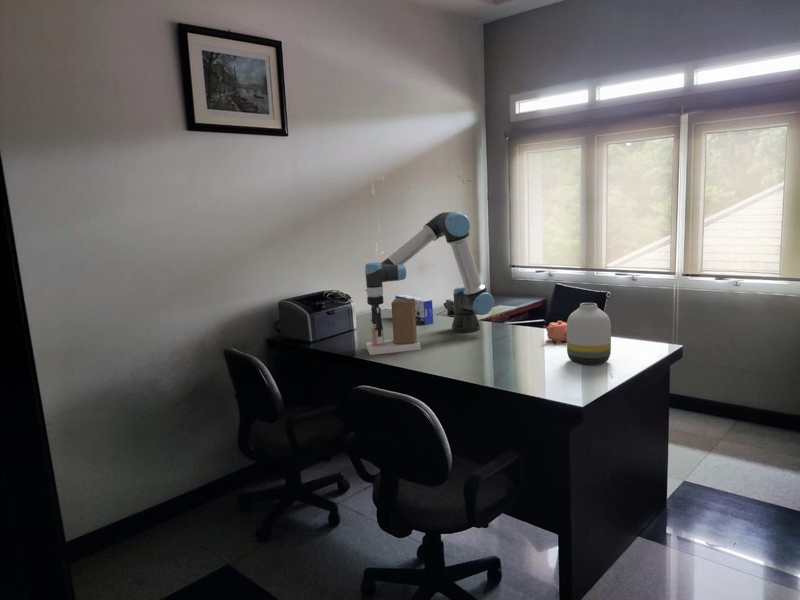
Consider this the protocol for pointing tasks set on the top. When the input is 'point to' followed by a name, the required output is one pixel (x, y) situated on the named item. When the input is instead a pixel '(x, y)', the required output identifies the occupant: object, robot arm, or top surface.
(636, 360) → the top surface
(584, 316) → the vase
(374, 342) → the terracotta block
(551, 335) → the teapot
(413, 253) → the robot arm
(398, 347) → the foundation board
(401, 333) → the wooden block
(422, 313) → the ink box
